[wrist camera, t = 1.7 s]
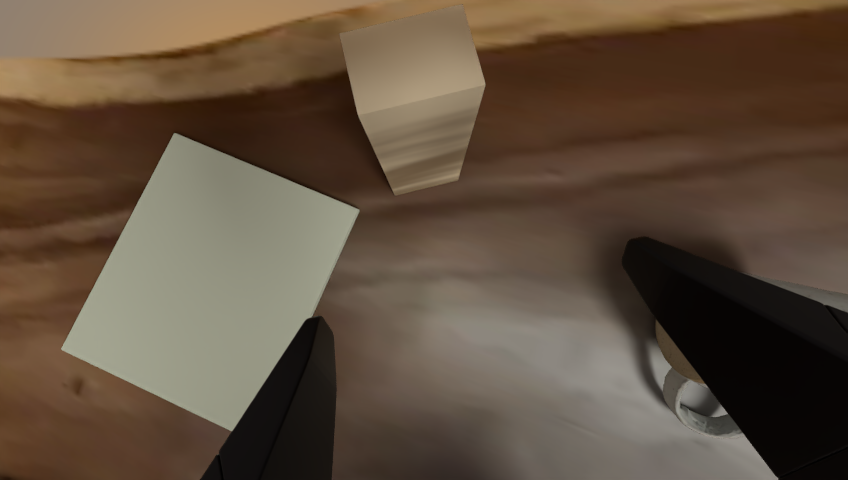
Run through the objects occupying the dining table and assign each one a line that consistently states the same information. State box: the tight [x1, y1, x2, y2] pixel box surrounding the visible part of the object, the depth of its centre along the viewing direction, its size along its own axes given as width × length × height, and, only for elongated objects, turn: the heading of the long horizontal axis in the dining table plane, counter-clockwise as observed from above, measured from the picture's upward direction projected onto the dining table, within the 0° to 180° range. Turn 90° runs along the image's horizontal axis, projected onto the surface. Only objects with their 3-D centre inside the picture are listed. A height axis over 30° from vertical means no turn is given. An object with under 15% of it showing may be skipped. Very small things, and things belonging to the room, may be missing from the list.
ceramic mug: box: [655, 273, 848, 439], centre depth 18 cm, size 11×8×8 cm
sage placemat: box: [61, 133, 360, 431], centre depth 23 cm, size 18×16×1 cm
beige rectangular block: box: [339, 4, 485, 196], centre depth 18 cm, size 4×5×12 cm
